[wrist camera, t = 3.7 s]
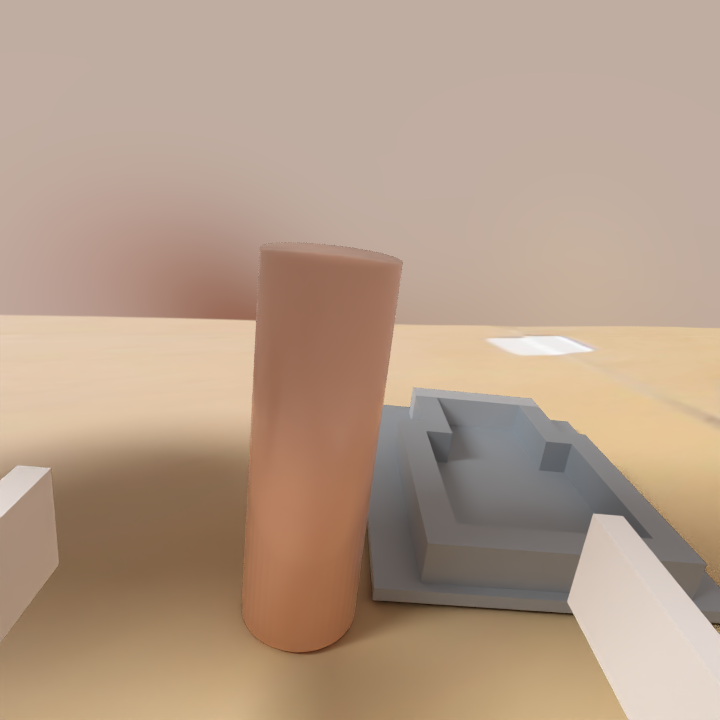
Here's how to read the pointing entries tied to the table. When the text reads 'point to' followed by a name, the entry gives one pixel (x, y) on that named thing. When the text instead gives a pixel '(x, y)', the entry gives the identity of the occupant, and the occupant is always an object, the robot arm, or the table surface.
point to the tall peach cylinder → (314, 436)
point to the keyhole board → (500, 507)
